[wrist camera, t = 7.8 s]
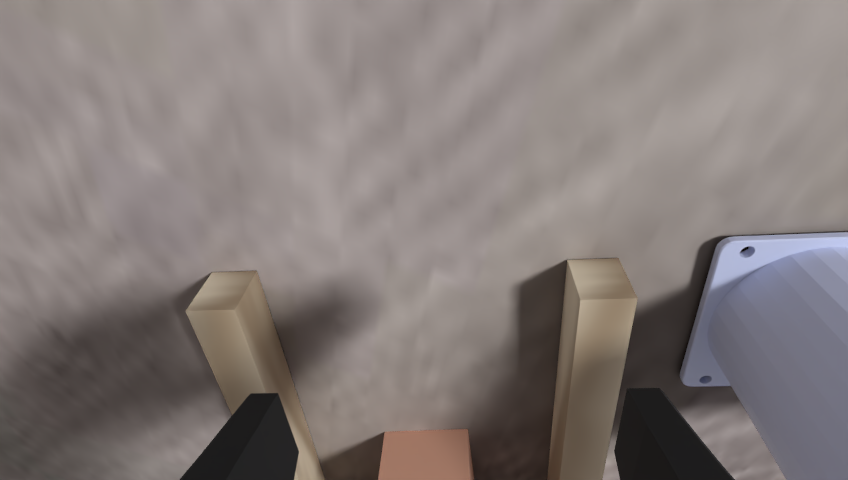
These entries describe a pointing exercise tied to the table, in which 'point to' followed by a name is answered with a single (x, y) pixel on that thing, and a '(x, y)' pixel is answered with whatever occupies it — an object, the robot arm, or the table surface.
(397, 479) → the block
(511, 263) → the table surface
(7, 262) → the table surface
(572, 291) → the wooden u-shaped frame
